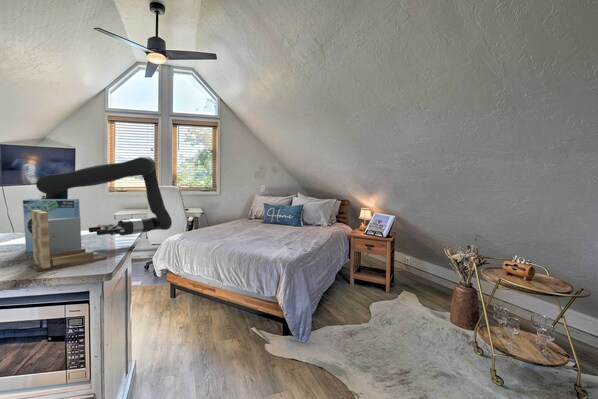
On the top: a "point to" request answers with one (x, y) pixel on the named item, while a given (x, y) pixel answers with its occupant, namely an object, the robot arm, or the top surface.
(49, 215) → the gum box
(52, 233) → the grey flat block
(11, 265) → the top surface
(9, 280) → the top surface
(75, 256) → the hinge base
